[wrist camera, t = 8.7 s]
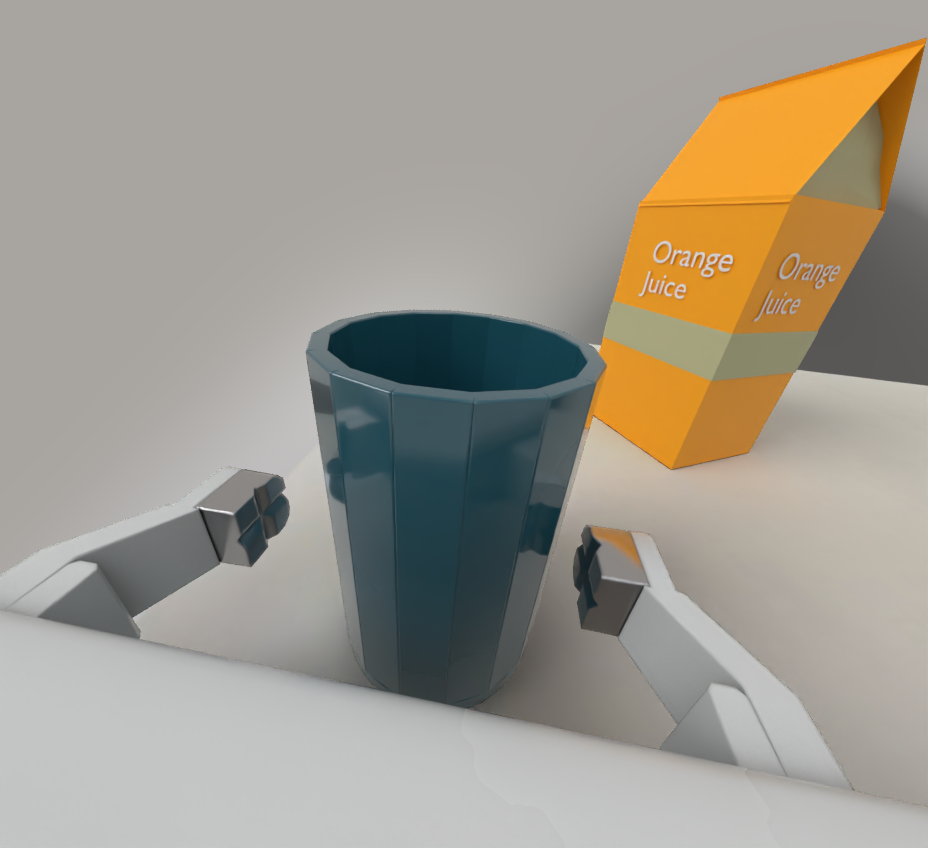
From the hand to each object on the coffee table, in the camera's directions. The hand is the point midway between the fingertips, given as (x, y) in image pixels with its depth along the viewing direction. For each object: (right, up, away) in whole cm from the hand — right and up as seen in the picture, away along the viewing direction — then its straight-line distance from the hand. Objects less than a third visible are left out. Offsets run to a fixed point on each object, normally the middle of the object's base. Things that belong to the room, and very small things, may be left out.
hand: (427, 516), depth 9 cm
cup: (0, -4, +4) cm, 6 cm away
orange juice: (+16, +2, +18) cm, 24 cm away
